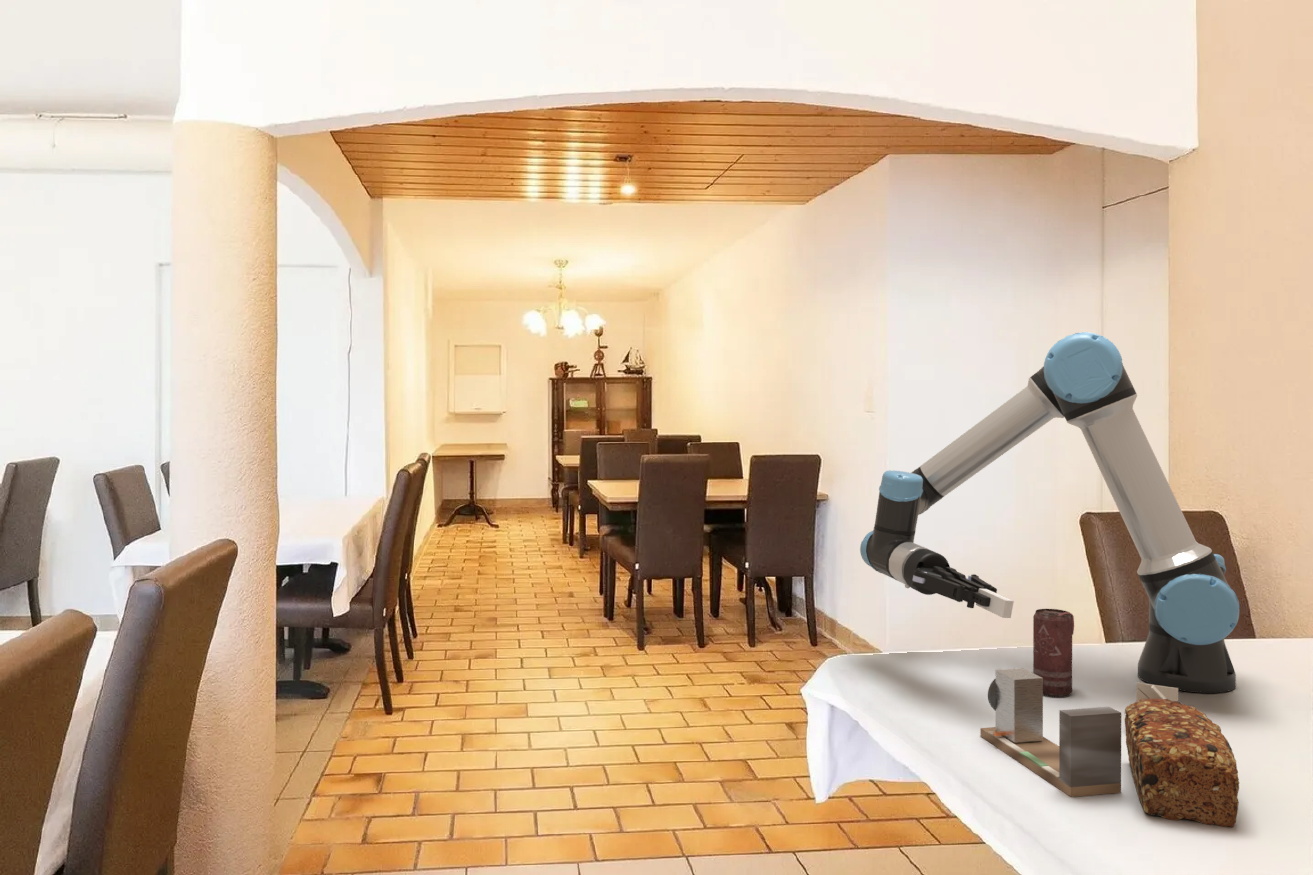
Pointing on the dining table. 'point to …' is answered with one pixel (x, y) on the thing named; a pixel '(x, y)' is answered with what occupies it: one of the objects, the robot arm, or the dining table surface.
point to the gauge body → (1073, 752)
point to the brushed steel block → (1017, 705)
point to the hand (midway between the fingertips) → (1008, 609)
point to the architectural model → (1156, 692)
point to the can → (1053, 650)
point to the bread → (1181, 763)
